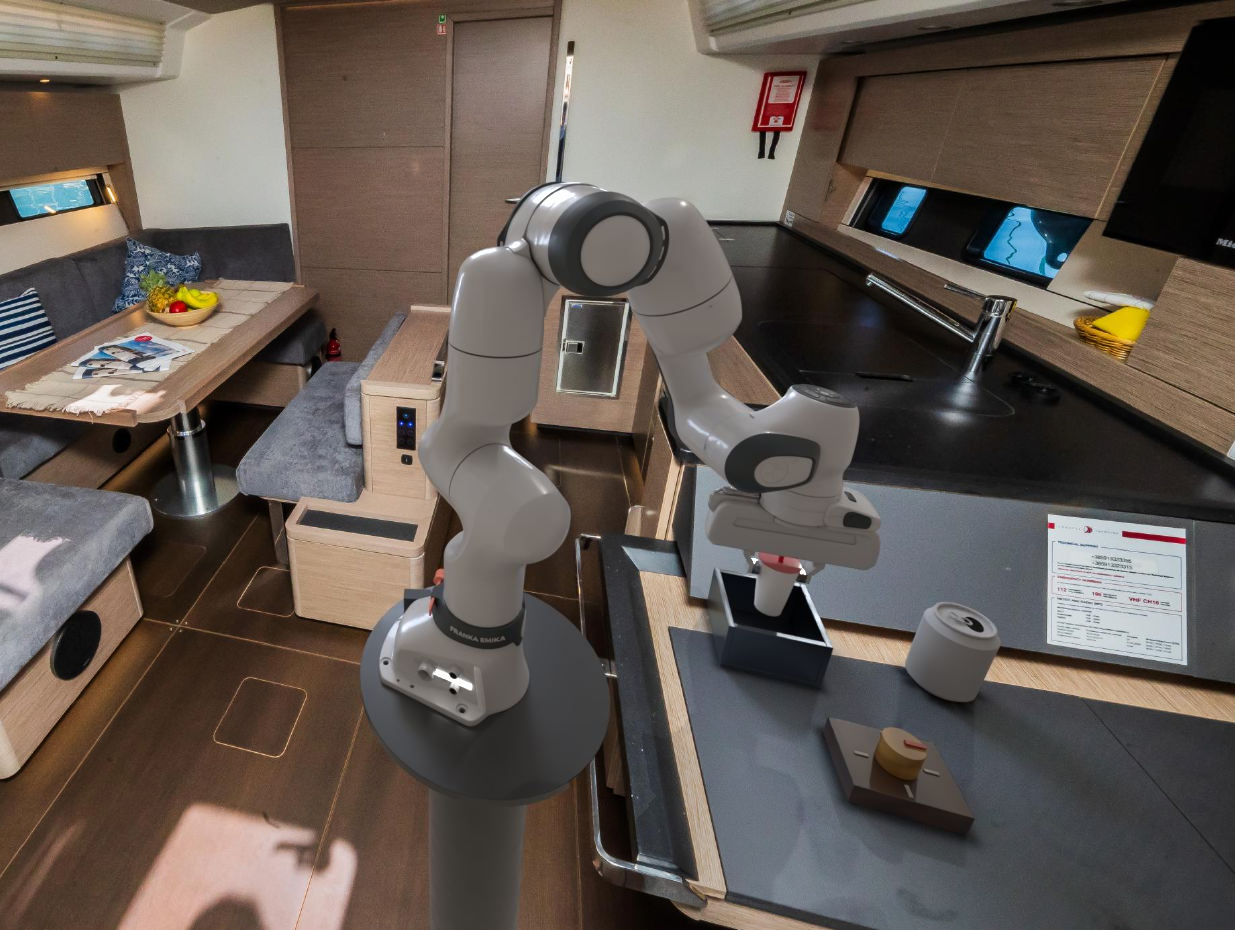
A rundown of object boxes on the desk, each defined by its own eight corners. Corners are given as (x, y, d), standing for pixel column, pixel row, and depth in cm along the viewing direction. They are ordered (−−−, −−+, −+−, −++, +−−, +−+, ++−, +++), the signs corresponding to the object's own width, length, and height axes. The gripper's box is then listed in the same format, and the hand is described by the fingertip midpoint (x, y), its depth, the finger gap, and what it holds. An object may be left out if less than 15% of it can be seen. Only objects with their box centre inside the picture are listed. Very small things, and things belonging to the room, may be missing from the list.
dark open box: (719, 665, 86) (728, 626, 83) (706, 604, 96) (714, 567, 94) (820, 689, 81) (833, 648, 78) (794, 622, 92) (805, 584, 89)
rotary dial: (847, 802, 68) (854, 784, 67) (822, 732, 76) (828, 715, 74) (966, 836, 64) (976, 818, 63) (927, 759, 72) (934, 741, 71)
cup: (769, 625, 83) (786, 559, 79) (738, 599, 88) (753, 535, 84) (798, 616, 85) (817, 551, 80) (765, 590, 89) (782, 528, 85)
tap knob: (882, 774, 68) (891, 752, 66) (868, 742, 71) (876, 720, 70) (924, 785, 66) (934, 763, 65) (908, 752, 70) (917, 731, 68)
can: (982, 716, 77) (1014, 649, 72) (908, 691, 80) (935, 626, 76) (966, 673, 83) (995, 609, 78) (898, 652, 86) (922, 589, 82)
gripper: (715, 497, 80) (699, 575, 85) (897, 523, 73) (868, 607, 78) (708, 473, 85) (693, 548, 90) (877, 495, 78) (851, 575, 83)
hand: (776, 575), depth 84 cm, fingers closed on cup, 5 cm apart
